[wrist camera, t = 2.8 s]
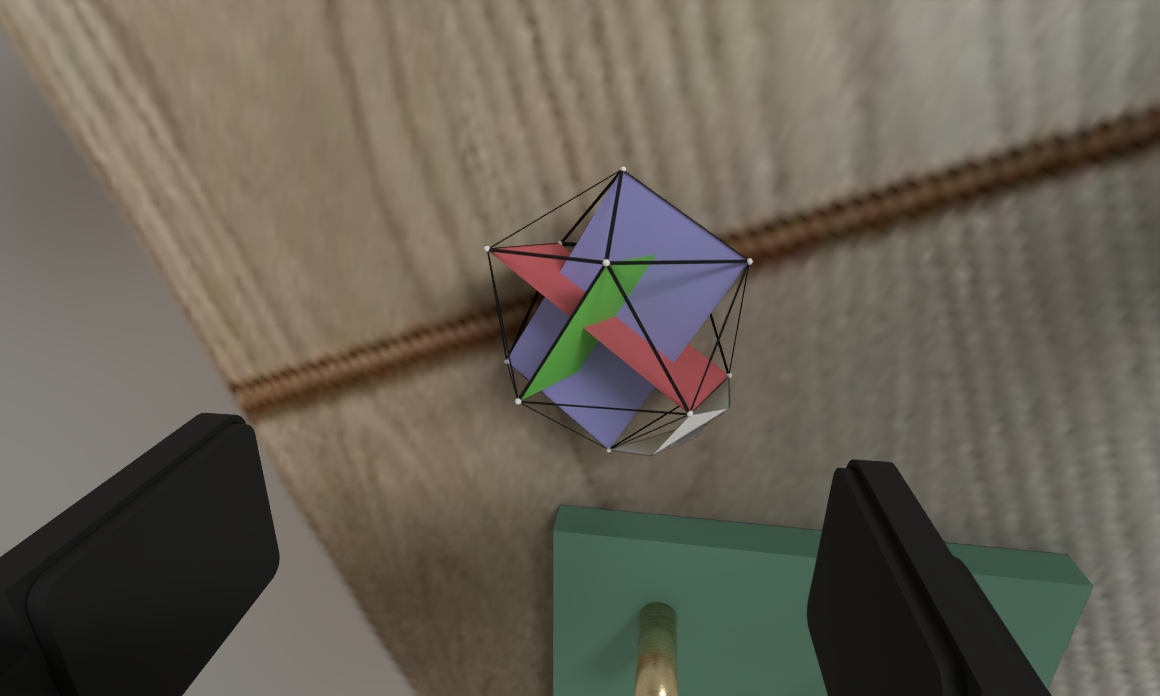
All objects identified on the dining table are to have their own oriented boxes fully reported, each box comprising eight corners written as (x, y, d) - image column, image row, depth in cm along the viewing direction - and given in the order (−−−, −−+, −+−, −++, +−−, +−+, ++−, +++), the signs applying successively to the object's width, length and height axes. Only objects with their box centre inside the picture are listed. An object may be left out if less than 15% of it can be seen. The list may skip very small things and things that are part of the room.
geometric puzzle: (412, 303, 19) (496, 511, 14) (515, 95, 17) (669, 256, 11) (589, 344, 24) (703, 513, 18) (693, 186, 21) (863, 331, 16)
